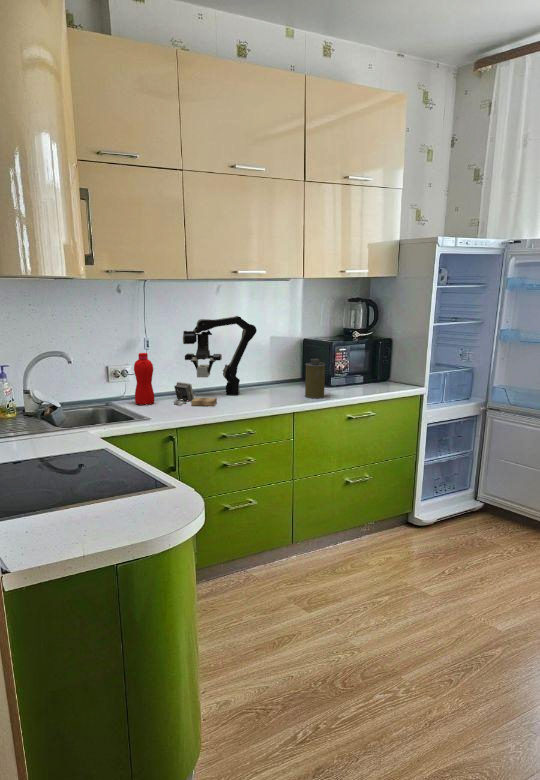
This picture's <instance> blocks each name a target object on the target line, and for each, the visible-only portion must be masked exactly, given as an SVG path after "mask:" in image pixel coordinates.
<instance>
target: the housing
mask: <svg viewBox="0 0 540 780" xmlns="http://www.w3.org/2000/svg"><path fill="white" fill-rule="evenodd" d="M210 375H211V372H210V373H209V364H198V367H197V370H196V378H209V377H210Z"/></svg>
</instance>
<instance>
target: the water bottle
mask: <svg viewBox="0 0 540 780" xmlns="http://www.w3.org/2000/svg"><path fill="white" fill-rule="evenodd" d="M148 356H149V355H148V353H146V352H139V353H138V359H137V360H136V361H135V362H134V364H133V371H134V375H135V379H136V386H135V390H134V391H135V392H134V401H135V404H137V405H138V404H139V405H138V406H143V405H146V404H147V405H153V404H154V403H155V393H154V387H153V384H152V381H153V375H154V364H153V363H152V361H151V360H150V359H149V358H148Z"/></svg>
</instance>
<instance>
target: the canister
mask: <svg viewBox="0 0 540 780" xmlns="http://www.w3.org/2000/svg"><path fill="white" fill-rule="evenodd" d="M325 377H326V363H325V362H321V361H320V359H319V358H311V359H310V362H307V363H305V381H304V383H305V384H304V385H305V389H304V391H305V392H304V397H305V398H307V399H324V398H325V381H326V378H325Z"/></svg>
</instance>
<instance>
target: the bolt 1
mask: <svg viewBox="0 0 540 780" xmlns="http://www.w3.org/2000/svg"><path fill="white" fill-rule="evenodd" d="M177 401H178V400H174V401H173V405H174V406H180V407H182V406H183V404H180V403H177ZM175 404H176V405H175ZM181 405H182V406H181Z"/></svg>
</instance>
